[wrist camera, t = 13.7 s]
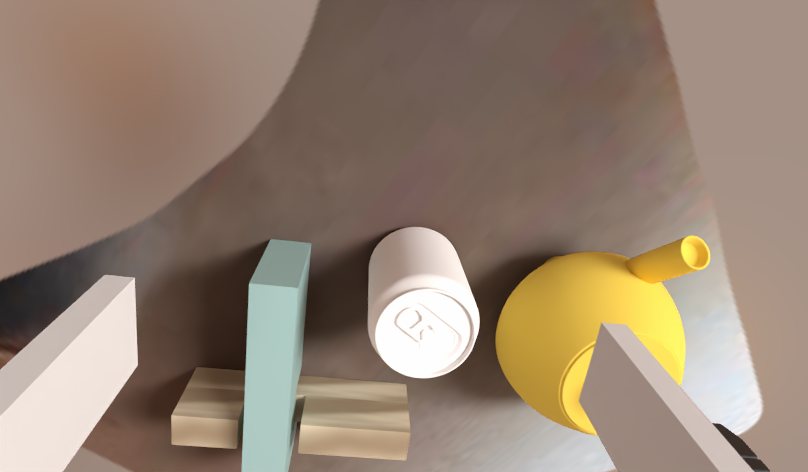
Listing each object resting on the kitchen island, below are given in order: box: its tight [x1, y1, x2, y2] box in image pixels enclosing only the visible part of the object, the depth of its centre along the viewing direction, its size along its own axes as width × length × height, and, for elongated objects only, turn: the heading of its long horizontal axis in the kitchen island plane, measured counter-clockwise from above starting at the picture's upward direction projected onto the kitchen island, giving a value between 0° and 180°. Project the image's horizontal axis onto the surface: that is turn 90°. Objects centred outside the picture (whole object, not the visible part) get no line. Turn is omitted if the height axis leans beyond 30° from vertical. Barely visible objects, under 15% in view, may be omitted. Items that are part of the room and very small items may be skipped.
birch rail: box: [171, 367, 411, 460], centre depth 50 cm, size 3×20×7 cm, turn 83°
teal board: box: [242, 239, 311, 472], centre depth 47 cm, size 20×4×9 cm, turn 173°
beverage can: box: [368, 227, 479, 378], centre depth 44 cm, size 8×8×12 cm
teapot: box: [495, 236, 710, 436], centre depth 45 cm, size 20×16×14 cm
